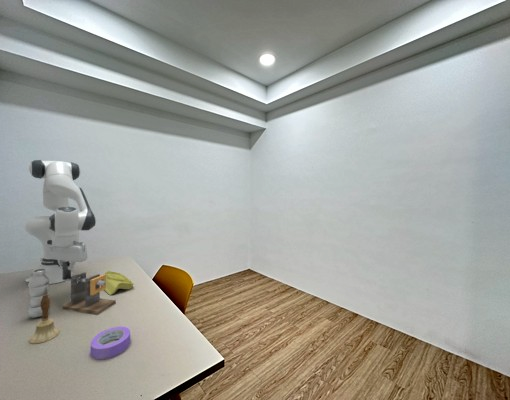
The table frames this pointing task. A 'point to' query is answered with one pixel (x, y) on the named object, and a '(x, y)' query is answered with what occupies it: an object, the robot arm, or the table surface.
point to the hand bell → (44, 324)
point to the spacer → (93, 284)
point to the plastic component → (116, 282)
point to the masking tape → (114, 348)
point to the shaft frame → (86, 297)
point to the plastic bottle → (37, 292)
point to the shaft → (67, 277)
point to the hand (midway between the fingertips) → (66, 269)
